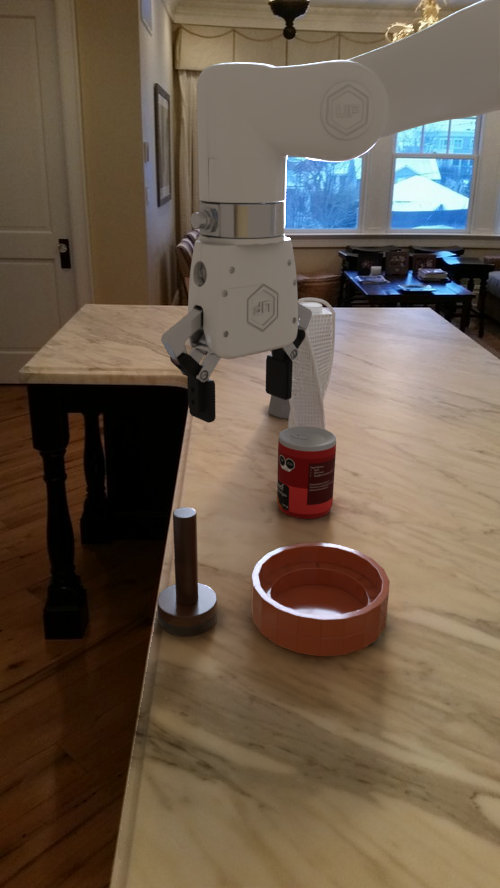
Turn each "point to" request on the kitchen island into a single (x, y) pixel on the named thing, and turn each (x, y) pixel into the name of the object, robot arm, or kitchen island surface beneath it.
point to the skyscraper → (312, 367)
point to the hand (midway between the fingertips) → (241, 406)
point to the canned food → (305, 471)
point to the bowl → (319, 598)
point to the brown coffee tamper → (186, 584)
